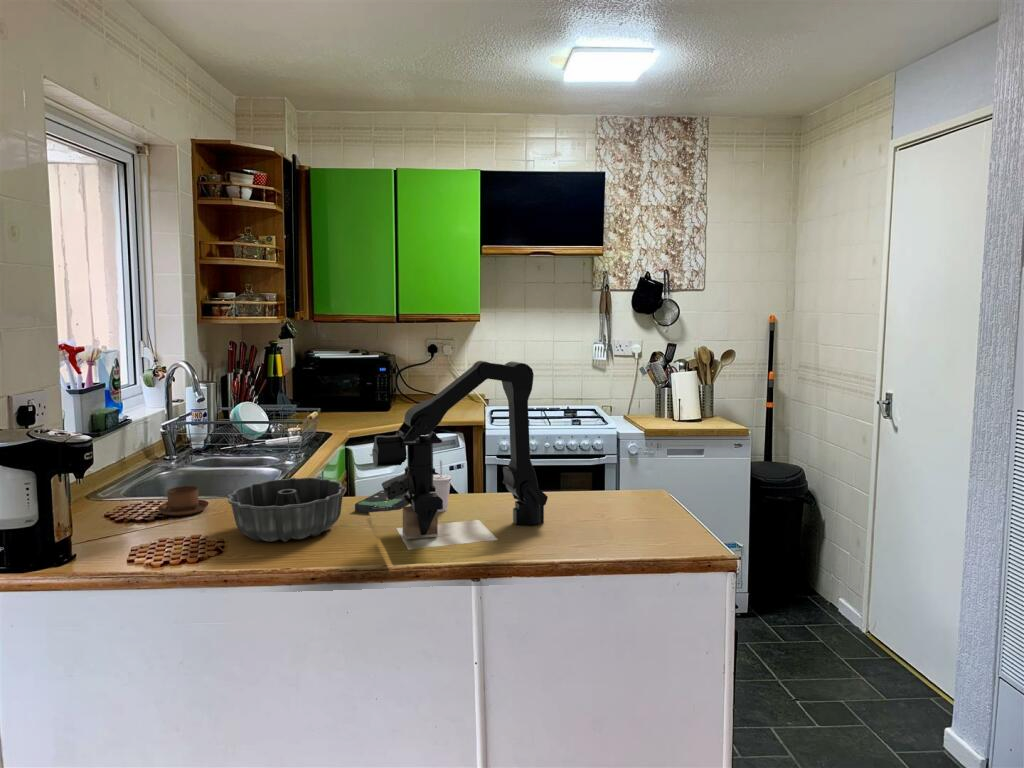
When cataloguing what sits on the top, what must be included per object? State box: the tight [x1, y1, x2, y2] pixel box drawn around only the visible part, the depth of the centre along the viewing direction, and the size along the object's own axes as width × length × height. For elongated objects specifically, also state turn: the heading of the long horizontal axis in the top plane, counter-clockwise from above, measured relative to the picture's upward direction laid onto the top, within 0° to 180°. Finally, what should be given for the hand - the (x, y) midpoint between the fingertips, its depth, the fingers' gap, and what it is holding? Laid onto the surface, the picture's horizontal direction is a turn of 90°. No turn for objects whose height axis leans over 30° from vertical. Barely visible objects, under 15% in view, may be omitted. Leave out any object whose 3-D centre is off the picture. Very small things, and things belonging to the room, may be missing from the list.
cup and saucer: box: [157, 485, 210, 517], centre depth 192 cm, size 12×12×6 cm
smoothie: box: [430, 459, 453, 513], centre depth 188 cm, size 6×6×14 cm
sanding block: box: [402, 505, 439, 539], centre depth 167 cm, size 7×5×6 cm
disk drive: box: [354, 489, 411, 514], centre depth 197 cm, size 10×3×15 cm
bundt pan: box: [227, 477, 346, 543], centre depth 175 cm, size 26×26×10 cm
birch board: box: [396, 519, 498, 551], centre depth 169 cm, size 20×16×1 cm
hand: (421, 531), depth 167 cm, fingers closed on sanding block, 5 cm apart
